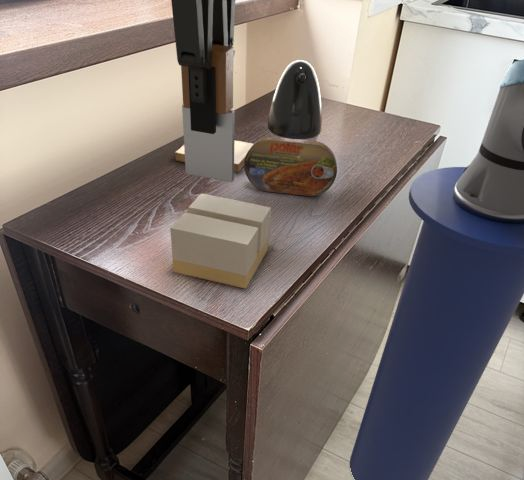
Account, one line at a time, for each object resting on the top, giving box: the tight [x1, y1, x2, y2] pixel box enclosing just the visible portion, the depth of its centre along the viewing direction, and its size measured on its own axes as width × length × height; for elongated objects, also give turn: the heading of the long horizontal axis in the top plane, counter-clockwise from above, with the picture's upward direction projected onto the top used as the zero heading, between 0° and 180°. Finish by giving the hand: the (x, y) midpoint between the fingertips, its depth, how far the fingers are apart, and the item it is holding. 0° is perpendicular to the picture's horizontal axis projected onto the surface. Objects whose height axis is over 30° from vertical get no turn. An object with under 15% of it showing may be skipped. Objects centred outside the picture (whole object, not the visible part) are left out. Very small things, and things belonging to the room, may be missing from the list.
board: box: [174, 139, 254, 173], centre depth 93 cm, size 12×10×2 cm
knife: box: [180, 44, 236, 183], centre depth 57 cm, size 6×2×14 cm, turn 73°
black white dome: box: [267, 59, 323, 141], centre depth 94 cm, size 10×10×15 cm
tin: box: [243, 136, 338, 197], centre depth 83 cm, size 15×3×8 cm, turn 82°
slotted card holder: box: [169, 193, 272, 290], centre depth 67 cm, size 10×10×6 cm
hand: (208, 126), depth 58 cm, fingers closed on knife, 2 cm apart
